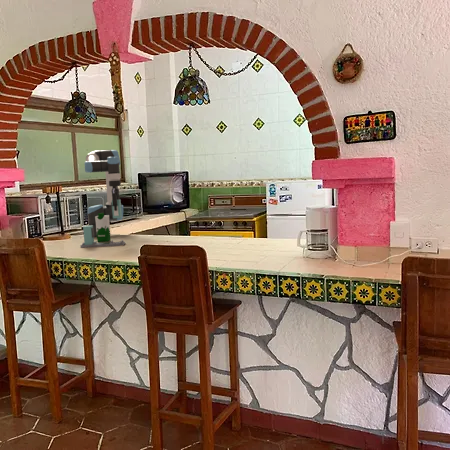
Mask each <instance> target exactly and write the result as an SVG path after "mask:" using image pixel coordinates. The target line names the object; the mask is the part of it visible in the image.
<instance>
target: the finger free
mask: <svg viewBox="0 0 450 450" xmlns="http://www.w3.org/2000/svg"><path fill="white" fill-rule="evenodd" d="M119 199H120V200H117V206H118V215H119V216H114V206H112V205H113V201H112V202H111V209H112V212H113V218H121V217H122V212H121V205H122V203H121V201H122V200H121V198H119Z"/></svg>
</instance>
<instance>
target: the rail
mask: <svg viewBox="0 0 450 450" xmlns="http://www.w3.org/2000/svg"><path fill="white" fill-rule="evenodd" d="M124 244H125V245H126V241H125V240H124V239H121V240H120V241H114V240H113V239H112V240H110V241H108V242H98V241H96V240H94V242H93V244H92V245H85V243H84V242H82V243H81V244H80V248H82V249H83V248H97V247H98V248H99V247H103V248H104V247H121V246H120V245H123V246H125V245H124Z"/></svg>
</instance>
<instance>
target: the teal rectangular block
mask: <svg viewBox="0 0 450 450" xmlns="http://www.w3.org/2000/svg"><path fill="white" fill-rule="evenodd" d="M82 229H83V241H84V242H83V243H85V245H92V244H93V242H95V239H94V238H95V237H94V228H93V226H89V225H84V226H82Z"/></svg>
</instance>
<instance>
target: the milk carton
mask: <svg viewBox="0 0 450 450" xmlns="http://www.w3.org/2000/svg"><path fill="white" fill-rule="evenodd" d="M95 220H96V231H97V237H96V239H97V241H96V242H97V243H106V242H110V241H112V240H111V227H110V226H111V225H110V221H109V215H104V213H98V216H96V217H95Z"/></svg>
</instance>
